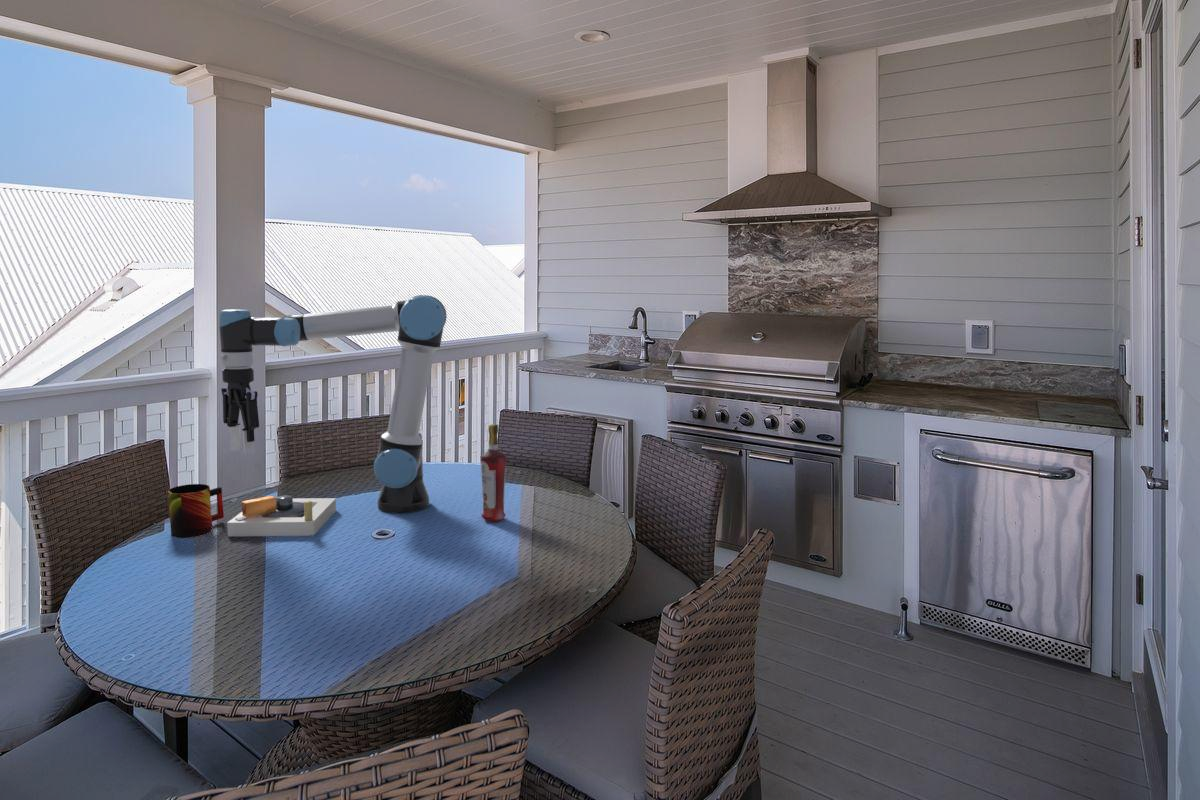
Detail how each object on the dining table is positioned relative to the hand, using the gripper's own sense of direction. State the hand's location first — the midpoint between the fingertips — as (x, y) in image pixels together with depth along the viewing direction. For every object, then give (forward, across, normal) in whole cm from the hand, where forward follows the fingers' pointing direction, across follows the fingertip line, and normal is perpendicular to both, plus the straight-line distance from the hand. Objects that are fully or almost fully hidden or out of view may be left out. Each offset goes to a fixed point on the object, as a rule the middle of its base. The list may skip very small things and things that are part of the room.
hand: (242, 451), depth 196 cm
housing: (+21, +7, +7) cm, 23 cm away
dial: (+19, +7, +5) cm, 20 cm away
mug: (+21, -7, -10) cm, 25 cm away
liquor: (+21, +51, +45) cm, 71 cm away
